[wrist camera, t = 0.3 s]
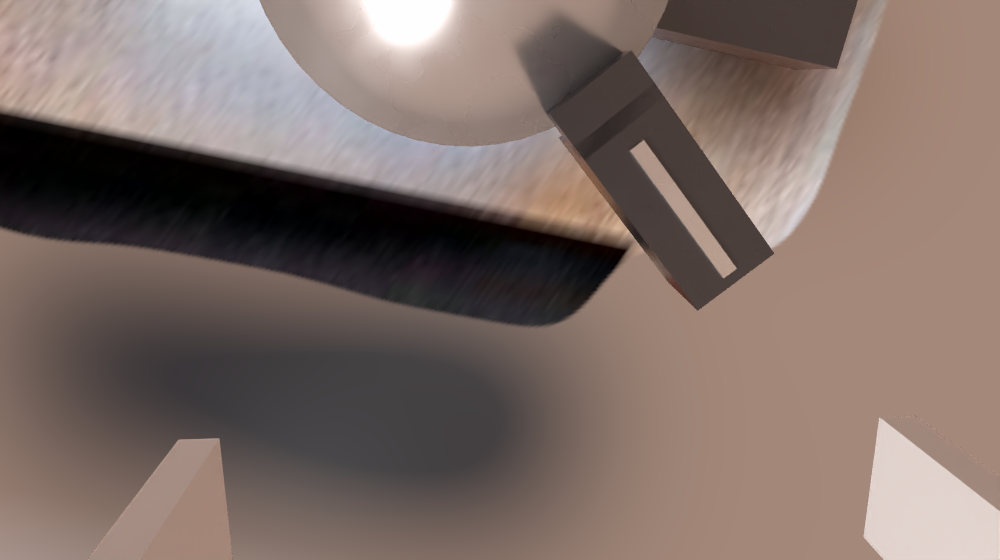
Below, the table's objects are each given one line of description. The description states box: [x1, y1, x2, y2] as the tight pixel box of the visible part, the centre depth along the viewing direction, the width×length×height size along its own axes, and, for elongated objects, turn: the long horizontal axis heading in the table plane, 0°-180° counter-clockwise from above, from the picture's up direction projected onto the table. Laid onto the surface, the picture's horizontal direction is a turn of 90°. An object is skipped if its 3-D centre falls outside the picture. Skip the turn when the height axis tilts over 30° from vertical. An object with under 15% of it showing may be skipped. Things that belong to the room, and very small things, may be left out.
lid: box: [260, 0, 774, 310], centre depth 27 cm, size 15×24×5 cm, turn 38°
